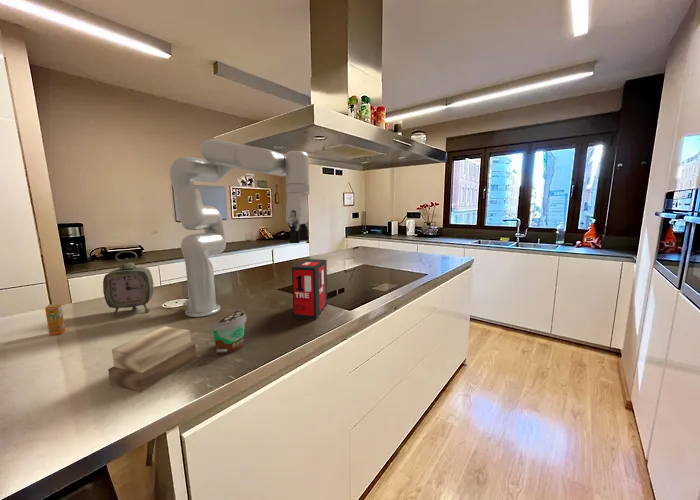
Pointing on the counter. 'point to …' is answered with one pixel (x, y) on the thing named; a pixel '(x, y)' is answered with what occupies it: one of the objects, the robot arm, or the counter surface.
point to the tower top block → (151, 349)
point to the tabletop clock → (128, 286)
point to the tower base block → (150, 372)
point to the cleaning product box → (309, 288)
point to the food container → (229, 333)
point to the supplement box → (55, 319)
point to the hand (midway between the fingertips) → (299, 241)
